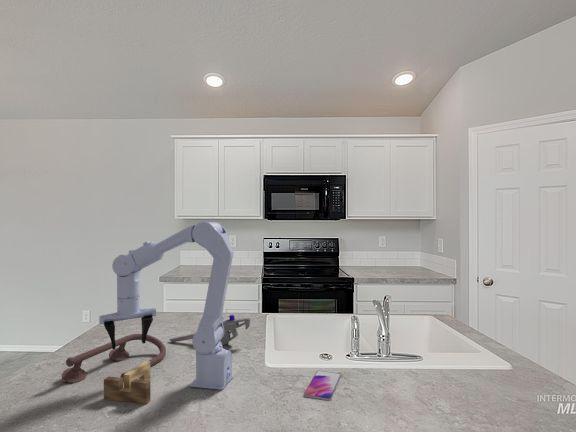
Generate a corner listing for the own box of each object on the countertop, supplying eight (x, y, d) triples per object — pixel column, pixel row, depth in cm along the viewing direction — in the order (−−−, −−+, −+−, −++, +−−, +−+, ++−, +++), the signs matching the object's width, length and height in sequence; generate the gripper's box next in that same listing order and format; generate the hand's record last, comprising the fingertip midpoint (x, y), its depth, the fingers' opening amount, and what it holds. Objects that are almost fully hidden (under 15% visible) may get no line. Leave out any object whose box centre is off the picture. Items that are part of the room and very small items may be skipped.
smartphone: (341, 373, 99) (330, 399, 84) (341, 376, 99) (330, 402, 84) (317, 369, 101) (302, 394, 87) (317, 372, 101) (302, 397, 87)
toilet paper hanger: (105, 388, 89) (61, 353, 95) (97, 411, 90) (54, 375, 96) (177, 349, 116) (139, 324, 121) (170, 367, 117) (133, 341, 122)
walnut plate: (150, 400, 85) (150, 380, 86) (146, 404, 84) (146, 383, 84) (108, 396, 88) (108, 376, 88) (103, 399, 86) (103, 379, 86)
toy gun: (252, 342, 122) (248, 314, 122) (169, 350, 127) (165, 323, 127) (253, 340, 124) (249, 312, 124) (171, 348, 129) (168, 321, 129)
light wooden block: (145, 378, 98) (145, 360, 98) (150, 379, 97) (150, 361, 97) (123, 394, 89) (123, 374, 89) (129, 394, 89) (129, 375, 89)
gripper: (152, 291, 105) (153, 336, 105) (98, 297, 97) (98, 346, 97) (157, 295, 99) (158, 343, 99) (99, 302, 91) (100, 354, 91)
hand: (128, 345), depth 97 cm, fingers open, 7 cm apart
